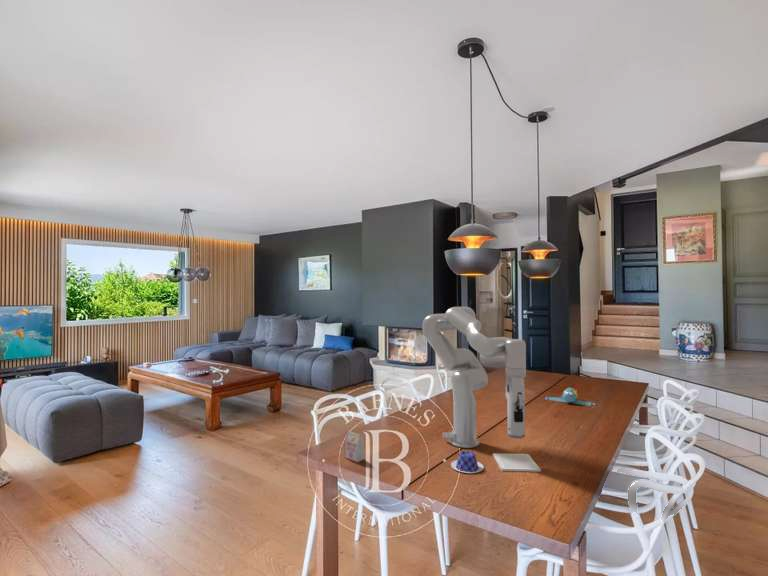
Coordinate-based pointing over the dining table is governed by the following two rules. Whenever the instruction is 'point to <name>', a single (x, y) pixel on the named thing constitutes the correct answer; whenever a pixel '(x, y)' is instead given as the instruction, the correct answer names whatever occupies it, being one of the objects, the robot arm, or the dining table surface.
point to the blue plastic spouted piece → (569, 397)
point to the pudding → (467, 463)
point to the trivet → (516, 462)
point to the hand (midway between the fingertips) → (515, 418)
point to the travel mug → (514, 428)
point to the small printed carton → (354, 447)
